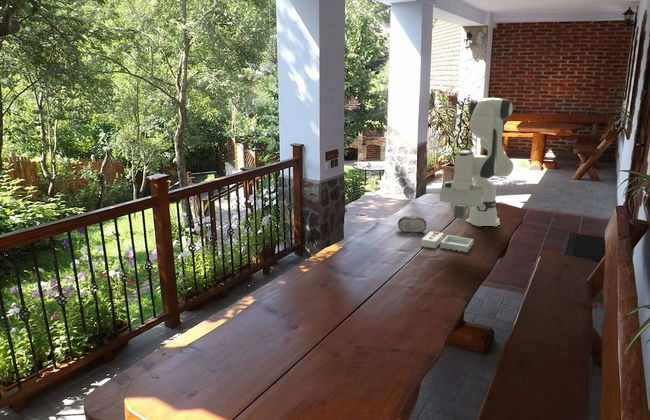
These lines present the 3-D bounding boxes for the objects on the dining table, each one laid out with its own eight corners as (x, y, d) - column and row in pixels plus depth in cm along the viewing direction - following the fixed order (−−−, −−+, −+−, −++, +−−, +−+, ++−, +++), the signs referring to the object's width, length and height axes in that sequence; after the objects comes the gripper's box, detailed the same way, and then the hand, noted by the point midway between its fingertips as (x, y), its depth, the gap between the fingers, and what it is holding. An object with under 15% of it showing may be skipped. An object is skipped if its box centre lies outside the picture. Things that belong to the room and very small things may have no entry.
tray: (447, 240, 251) (447, 235, 250) (473, 244, 245) (473, 239, 244) (440, 247, 240) (440, 242, 239) (467, 252, 234) (467, 246, 233)
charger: (455, 217, 242) (456, 204, 240) (464, 219, 240) (466, 205, 238) (453, 220, 238) (454, 206, 236) (462, 221, 236) (463, 207, 234)
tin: (425, 231, 265) (426, 216, 263) (426, 233, 262) (427, 218, 260) (397, 230, 266) (398, 215, 264) (397, 232, 263) (398, 217, 261)
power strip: (433, 234, 260) (433, 227, 259) (446, 236, 257) (447, 229, 256) (421, 245, 242) (421, 238, 241) (435, 248, 239) (435, 240, 238)
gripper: (486, 186, 232) (483, 214, 236) (443, 181, 242) (441, 208, 245) (483, 188, 227) (480, 217, 230) (439, 183, 236) (437, 211, 240)
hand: (459, 212), depth 238 cm, fingers closed on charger, 4 cm apart
